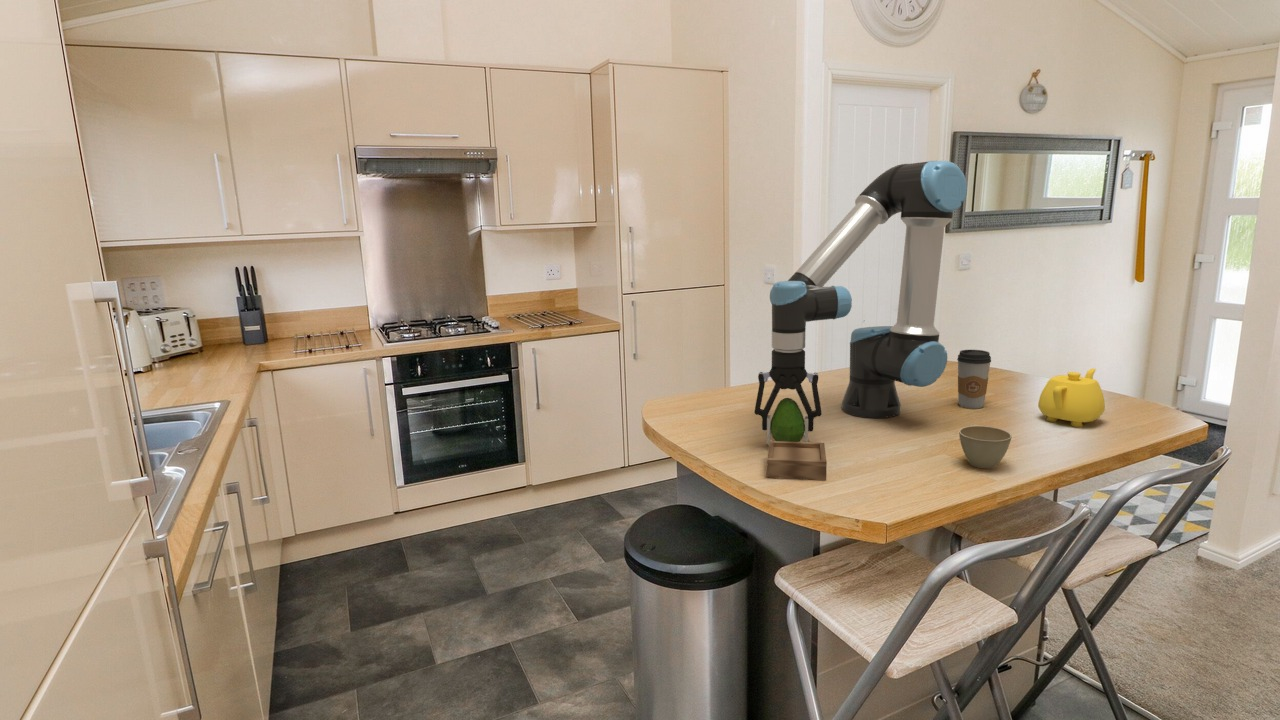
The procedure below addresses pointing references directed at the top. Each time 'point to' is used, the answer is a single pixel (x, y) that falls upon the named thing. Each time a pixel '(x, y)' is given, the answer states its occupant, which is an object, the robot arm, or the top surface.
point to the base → (796, 460)
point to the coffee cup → (973, 378)
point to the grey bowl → (984, 445)
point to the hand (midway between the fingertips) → (787, 443)
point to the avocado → (787, 422)
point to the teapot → (1072, 398)
